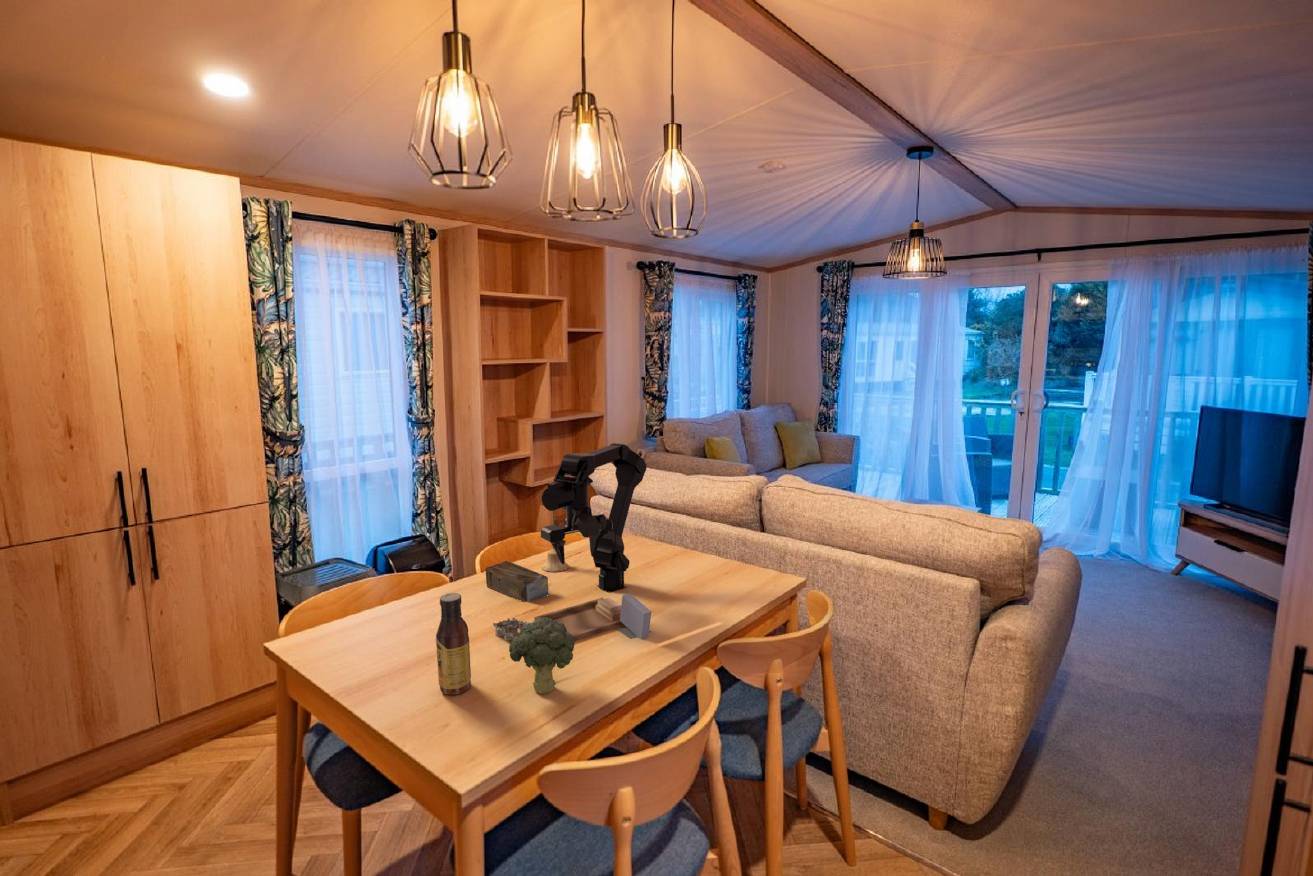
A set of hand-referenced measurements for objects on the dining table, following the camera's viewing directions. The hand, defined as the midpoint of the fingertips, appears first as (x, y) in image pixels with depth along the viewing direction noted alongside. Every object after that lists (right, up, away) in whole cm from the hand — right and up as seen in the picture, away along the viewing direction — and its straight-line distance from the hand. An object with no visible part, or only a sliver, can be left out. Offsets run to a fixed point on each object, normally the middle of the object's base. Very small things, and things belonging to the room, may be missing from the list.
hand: (578, 560), depth 161 cm
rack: (+3, -14, -8) cm, 17 cm away
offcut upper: (+9, -12, -4) cm, 15 cm away
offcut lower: (+9, -13, -4) cm, 16 cm away
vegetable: (-2, -19, -38) cm, 42 cm away
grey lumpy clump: (-13, -16, -16) cm, 26 cm away
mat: (+15, -15, -13) cm, 25 cm away
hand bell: (-11, -9, +31) cm, 34 cm away
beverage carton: (-19, -12, +12) cm, 25 cm away
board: (+15, -14, -13) cm, 25 cm away
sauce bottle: (-20, -19, -38) cm, 47 cm away
